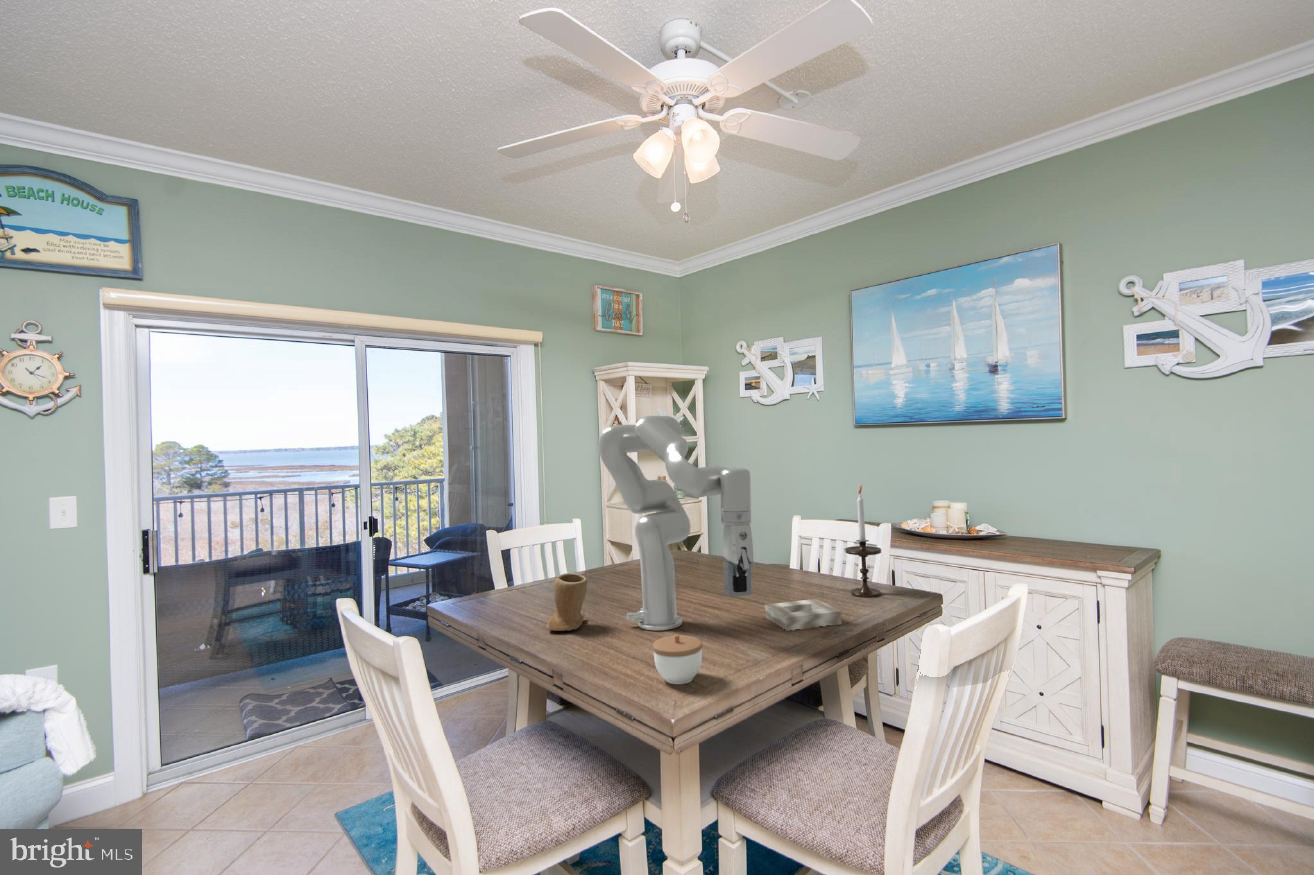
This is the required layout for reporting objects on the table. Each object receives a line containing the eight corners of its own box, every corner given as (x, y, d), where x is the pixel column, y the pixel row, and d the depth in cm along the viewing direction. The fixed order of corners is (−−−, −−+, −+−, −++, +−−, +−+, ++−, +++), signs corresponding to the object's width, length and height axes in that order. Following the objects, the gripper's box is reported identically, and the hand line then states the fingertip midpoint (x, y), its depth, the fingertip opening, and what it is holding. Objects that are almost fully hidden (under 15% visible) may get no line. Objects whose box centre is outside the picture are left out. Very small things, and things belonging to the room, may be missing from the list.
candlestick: (880, 589, 193) (873, 483, 194) (886, 598, 182) (879, 485, 183) (845, 589, 195) (839, 484, 196) (850, 598, 184) (843, 486, 185)
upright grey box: (728, 596, 146) (728, 564, 146) (724, 593, 150) (723, 561, 150) (751, 594, 148) (750, 563, 148) (746, 591, 151) (745, 560, 151)
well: (786, 631, 156) (785, 617, 156) (765, 617, 169) (765, 604, 169) (841, 624, 159) (840, 611, 159) (816, 610, 173) (815, 598, 173)
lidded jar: (647, 686, 125) (644, 641, 125) (664, 667, 135) (662, 626, 135) (695, 691, 121) (692, 645, 121) (709, 671, 131) (707, 629, 131)
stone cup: (585, 633, 163) (582, 579, 163) (543, 635, 164) (540, 581, 164) (594, 617, 178) (591, 568, 179) (555, 619, 179) (553, 569, 179)
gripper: (762, 521, 141) (764, 597, 142) (738, 512, 157) (739, 580, 158) (733, 522, 140) (734, 600, 140) (711, 513, 156) (713, 582, 156)
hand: (737, 588), depth 149 cm, fingers closed on upright grey box, 3 cm apart
